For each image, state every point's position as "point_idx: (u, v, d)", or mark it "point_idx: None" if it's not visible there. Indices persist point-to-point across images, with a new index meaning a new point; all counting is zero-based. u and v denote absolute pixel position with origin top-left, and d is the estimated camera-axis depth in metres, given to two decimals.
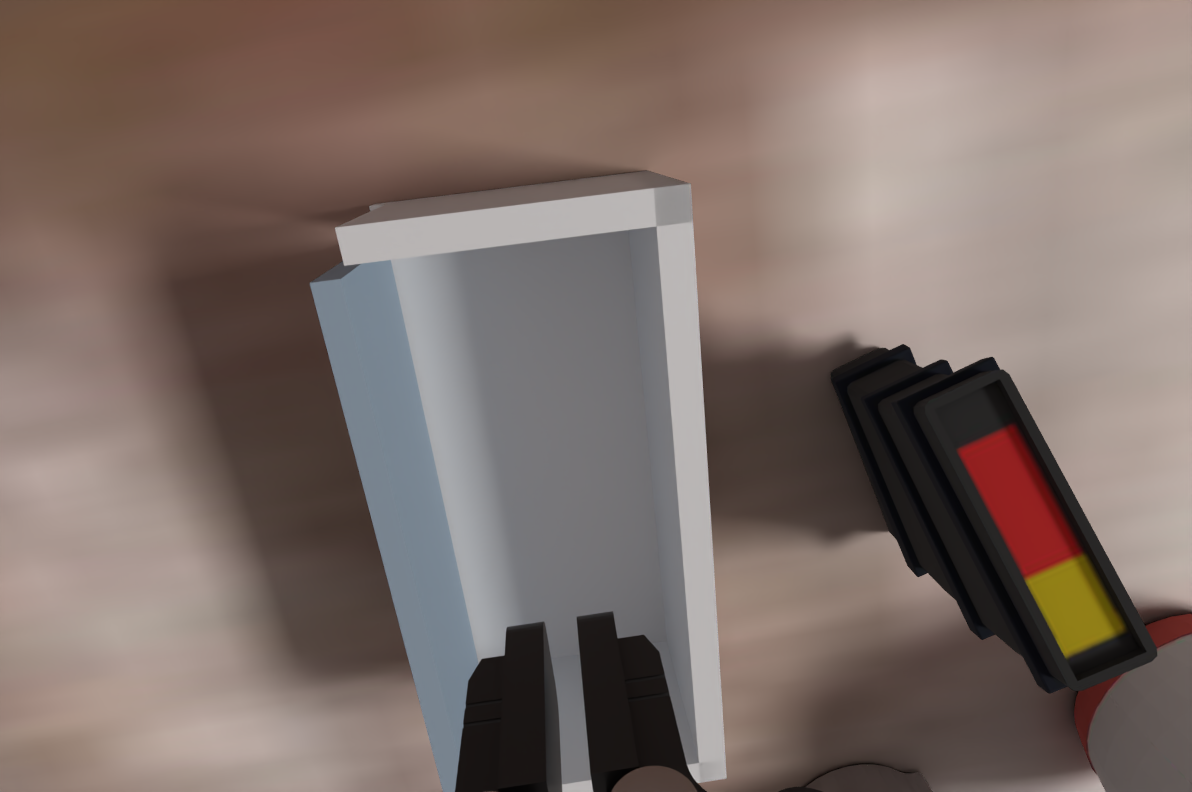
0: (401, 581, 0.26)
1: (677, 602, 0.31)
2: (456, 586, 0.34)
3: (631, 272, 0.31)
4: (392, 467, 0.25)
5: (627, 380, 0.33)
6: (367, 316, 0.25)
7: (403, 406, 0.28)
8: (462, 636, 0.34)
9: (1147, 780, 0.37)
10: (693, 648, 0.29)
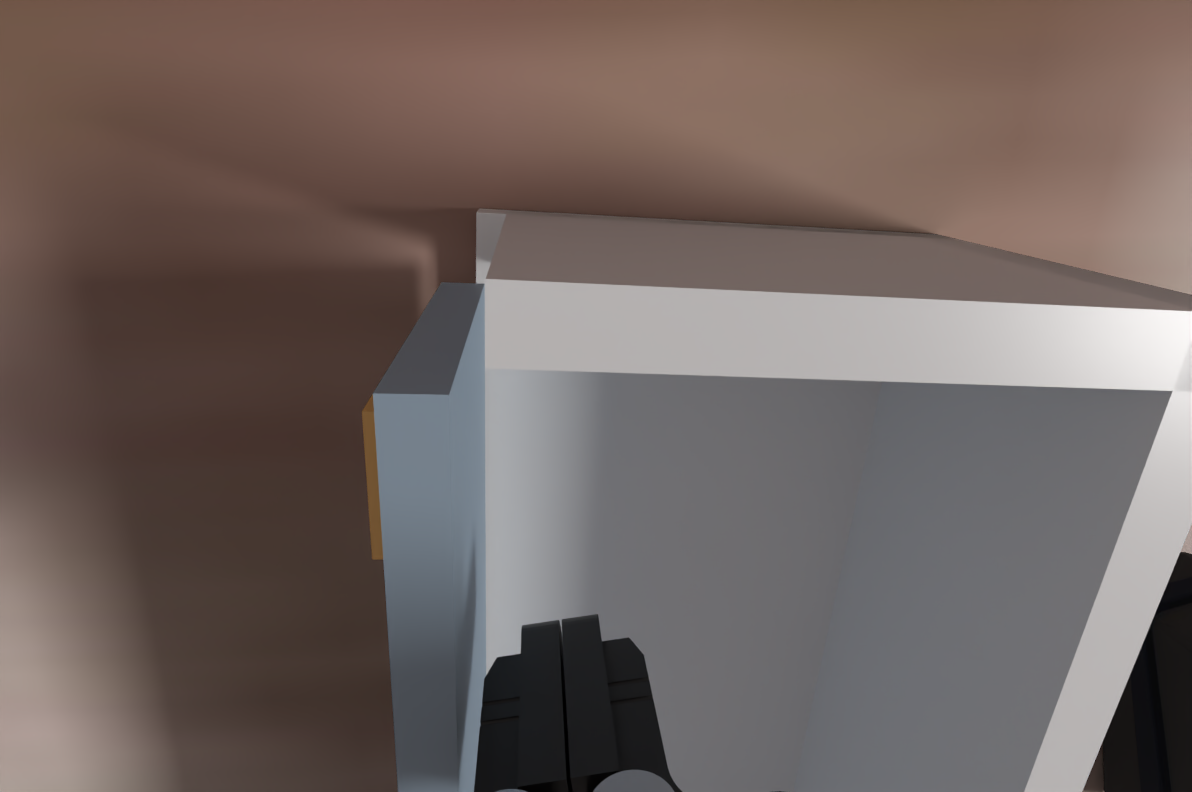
0: None
1: None
2: None
3: (878, 393, 0.19)
4: (461, 756, 0.12)
5: (821, 555, 0.20)
6: (464, 449, 0.12)
7: (475, 587, 0.15)
8: None
9: None
10: None
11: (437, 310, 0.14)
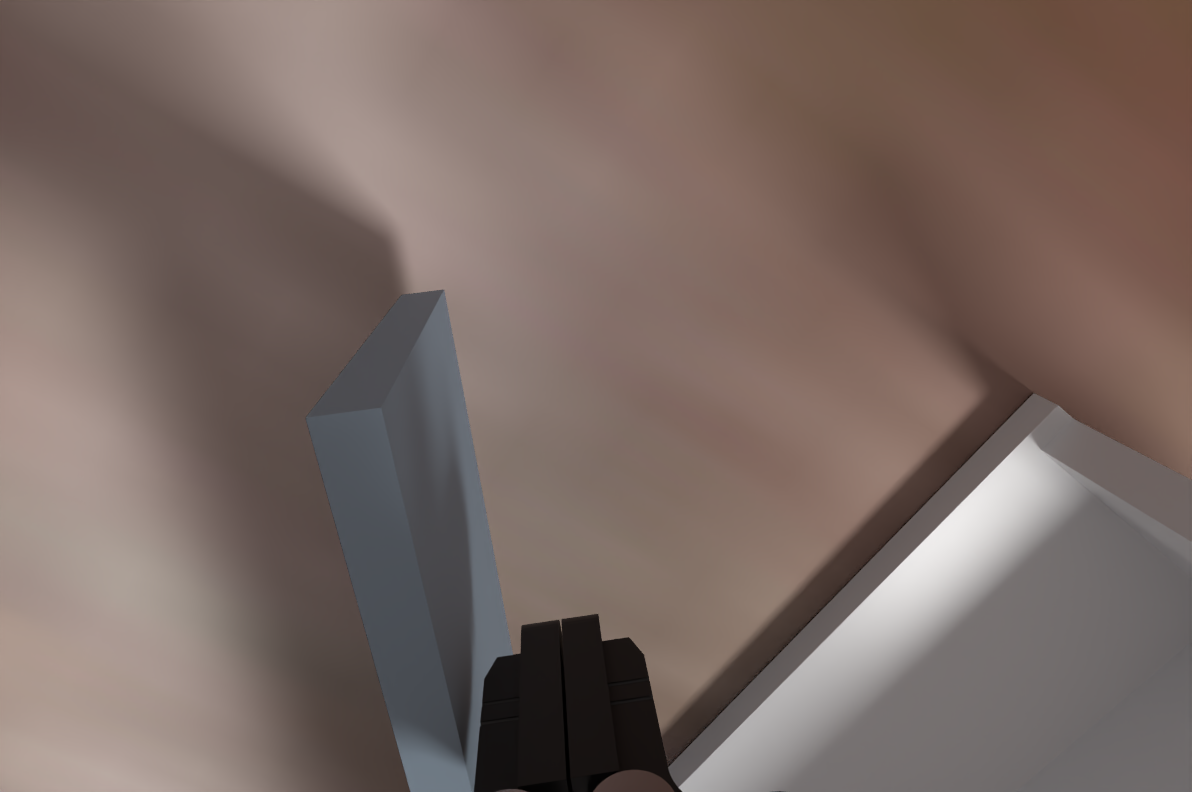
0: None
1: None
2: None
3: (1156, 670, 0.23)
4: (474, 761, 0.12)
5: (1032, 760, 0.24)
6: (426, 458, 0.12)
7: (477, 592, 0.15)
8: None
9: None
10: None
11: (390, 324, 0.14)
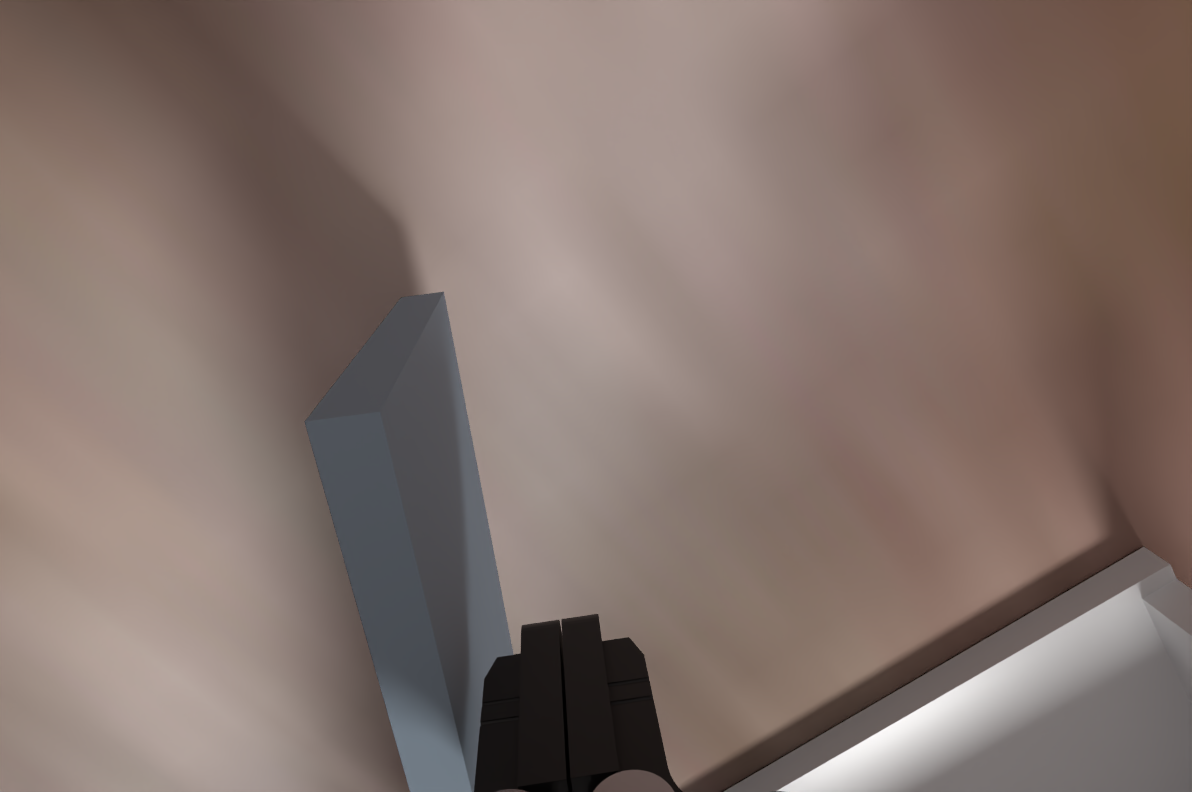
0: None
1: None
2: None
3: None
4: (475, 763, 0.12)
5: None
6: (426, 461, 0.12)
7: (478, 594, 0.15)
8: None
9: None
10: None
11: (389, 326, 0.14)
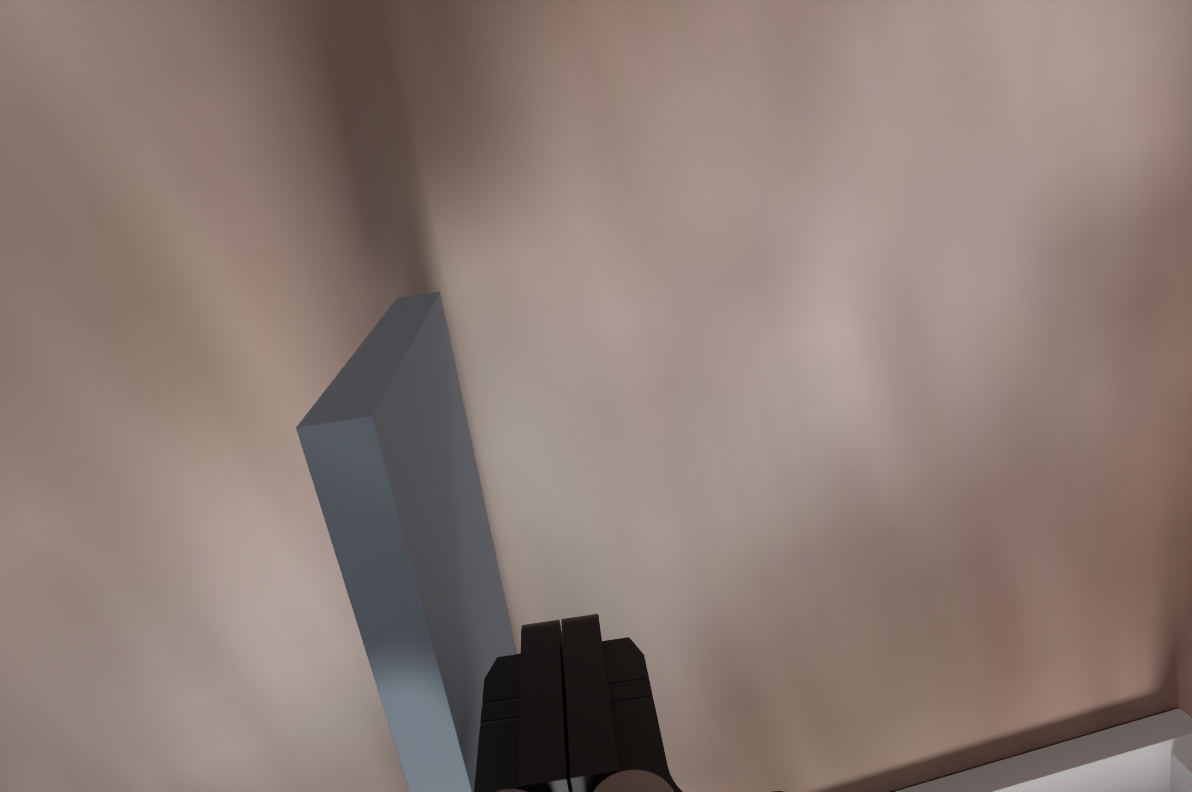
0: None
1: None
2: None
3: None
4: (475, 765, 0.12)
5: None
6: (421, 464, 0.12)
7: (478, 595, 0.15)
8: None
9: None
10: None
11: (384, 328, 0.14)
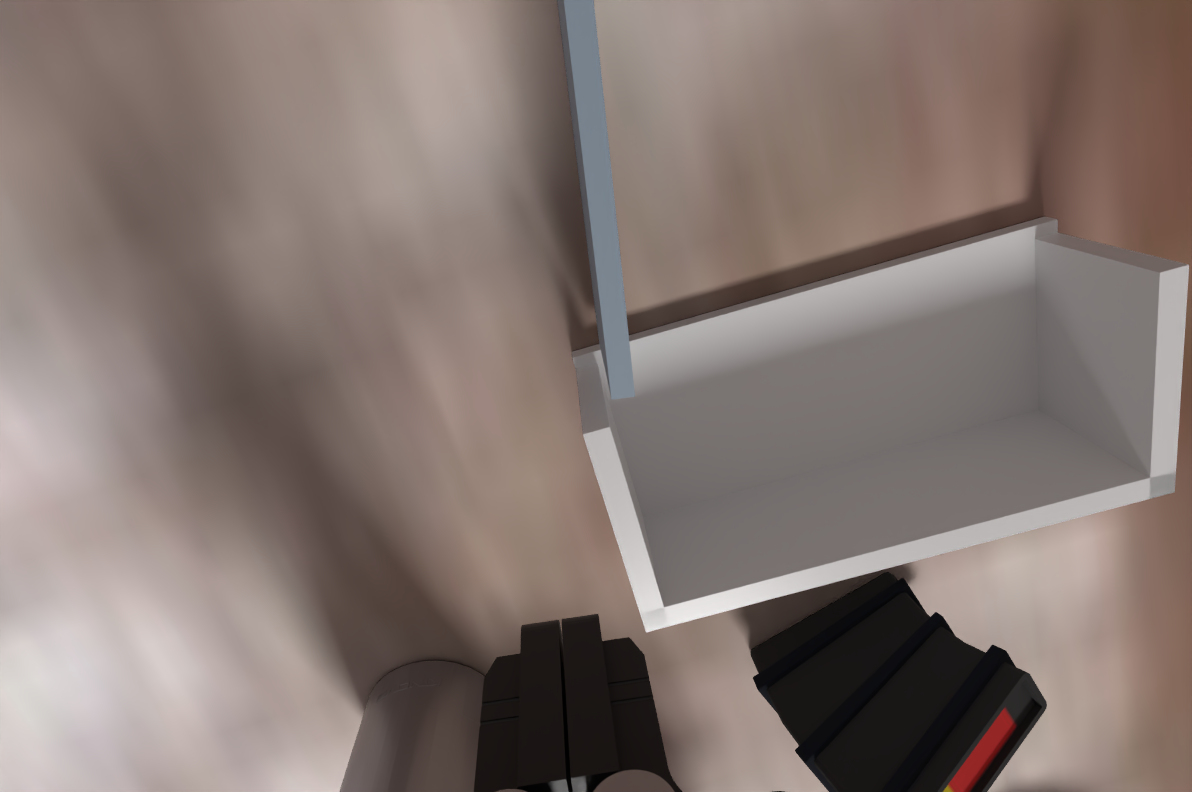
0: (591, 112, 0.25)
1: (784, 540, 0.36)
2: None
3: (987, 422, 0.40)
4: None
5: (899, 436, 0.40)
6: None
7: None
8: None
9: None
10: (793, 575, 0.33)
11: None
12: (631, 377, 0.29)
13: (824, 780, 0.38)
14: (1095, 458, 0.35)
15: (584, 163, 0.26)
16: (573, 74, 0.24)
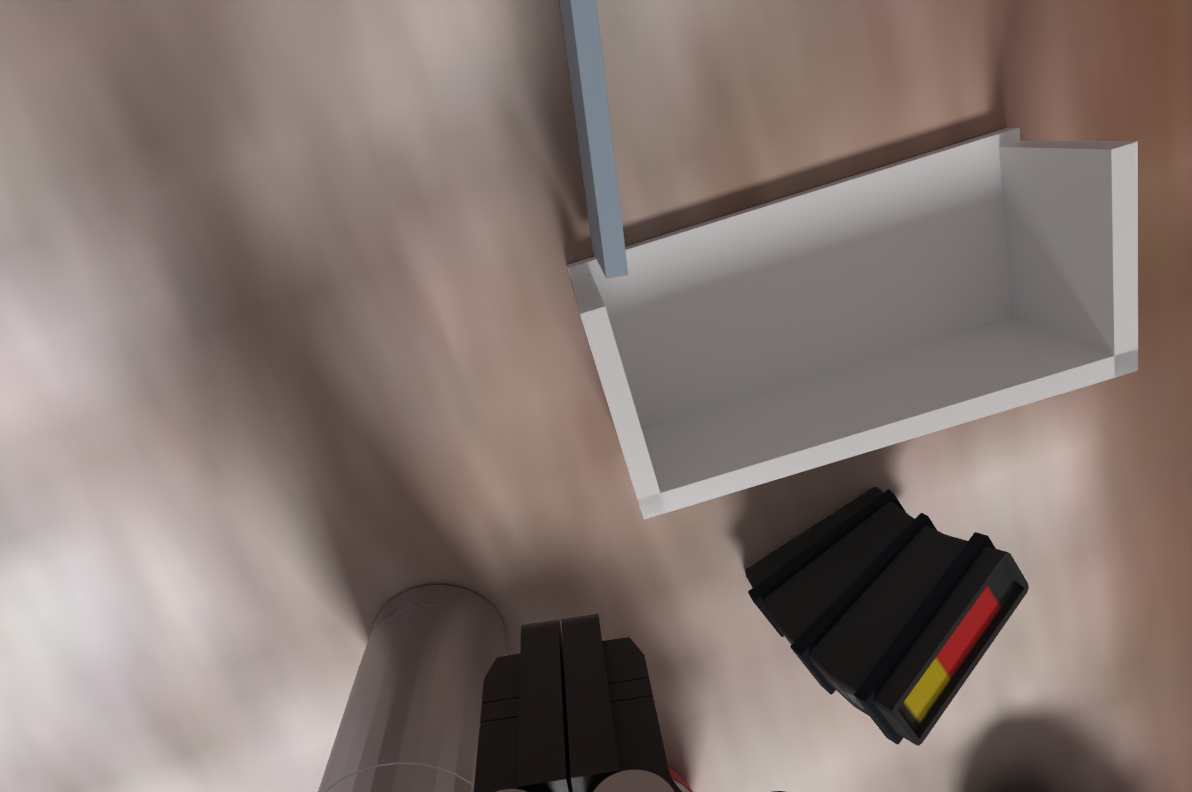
0: None
1: (773, 434, 0.37)
2: None
3: (963, 330, 0.42)
4: None
5: (881, 345, 0.42)
6: None
7: None
8: None
9: None
10: (782, 459, 0.35)
11: None
12: (624, 255, 0.31)
13: (819, 674, 0.40)
14: (1063, 346, 0.37)
15: (577, 42, 0.28)
16: None
